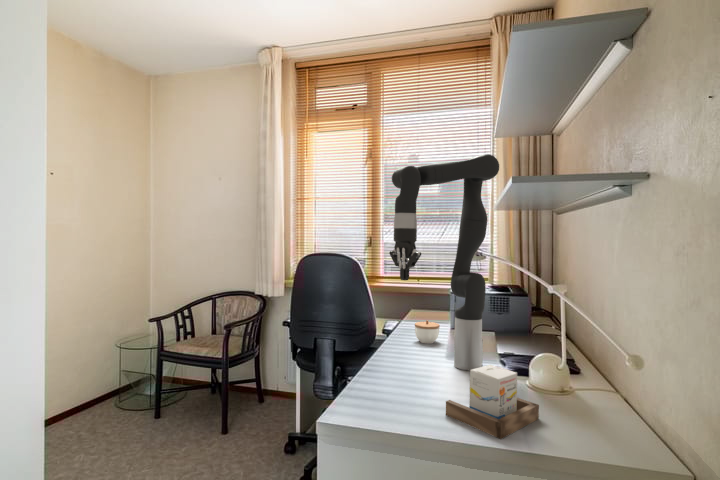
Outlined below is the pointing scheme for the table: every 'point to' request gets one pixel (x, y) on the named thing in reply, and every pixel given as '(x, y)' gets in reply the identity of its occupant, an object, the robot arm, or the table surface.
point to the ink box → (493, 391)
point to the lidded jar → (427, 331)
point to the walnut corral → (491, 425)
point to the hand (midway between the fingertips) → (404, 280)
